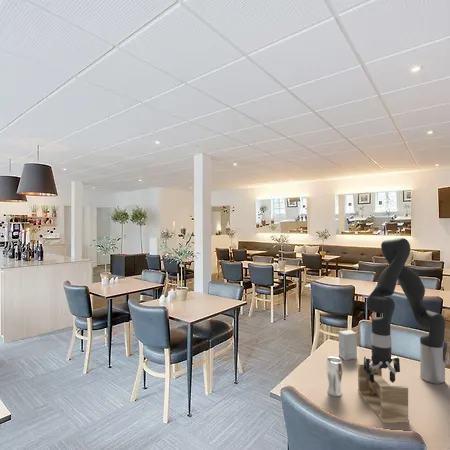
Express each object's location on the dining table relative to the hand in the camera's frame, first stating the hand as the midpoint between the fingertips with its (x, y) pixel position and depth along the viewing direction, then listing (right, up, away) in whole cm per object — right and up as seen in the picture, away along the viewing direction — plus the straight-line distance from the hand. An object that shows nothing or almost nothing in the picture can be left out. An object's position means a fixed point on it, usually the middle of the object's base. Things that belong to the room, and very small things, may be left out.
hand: (381, 381), depth 127 cm
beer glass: (-16, -10, +10) cm, 22 cm away
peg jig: (0, -10, 0) cm, 10 cm away
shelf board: (0, -5, 0) cm, 5 cm away
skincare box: (+4, -10, +46) cm, 48 cm away
